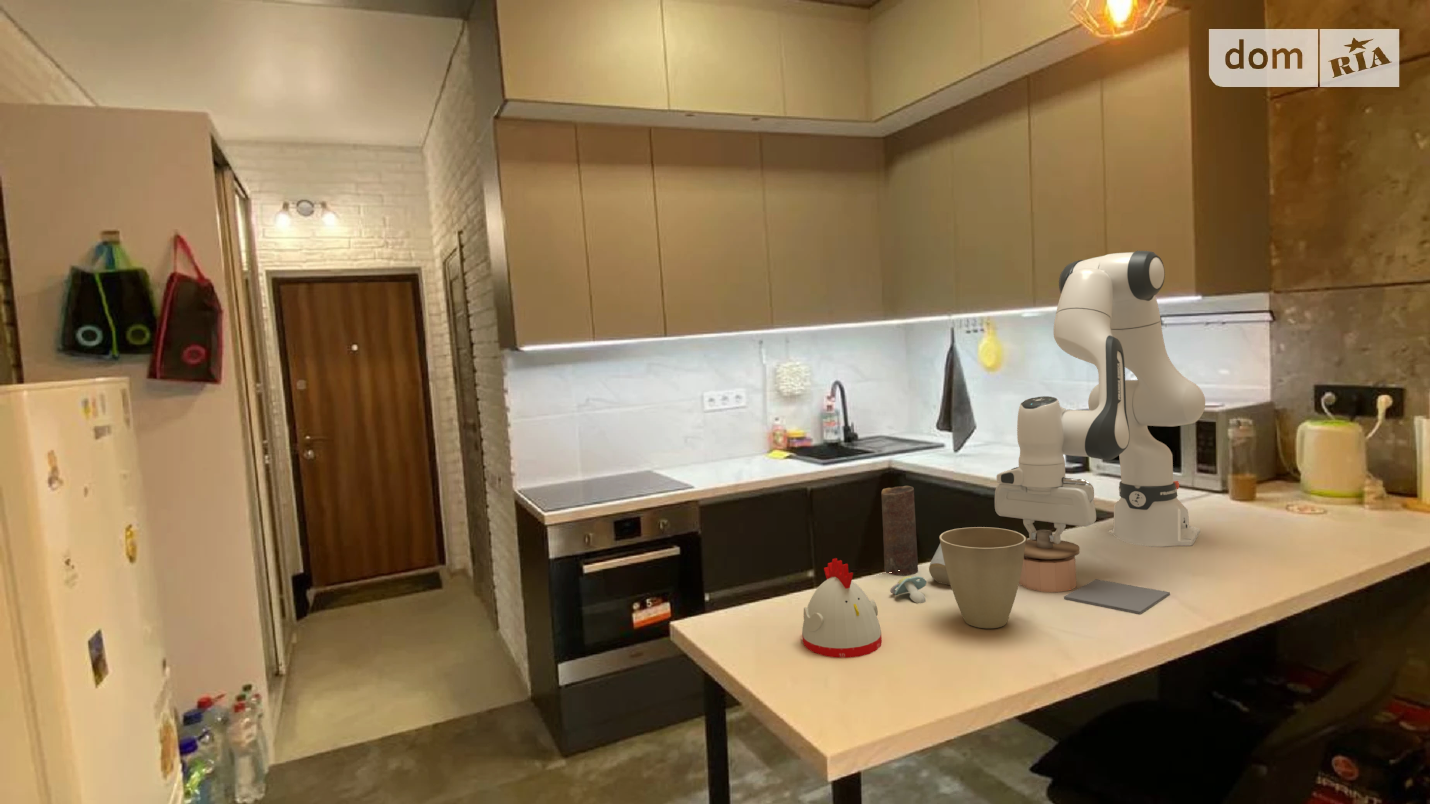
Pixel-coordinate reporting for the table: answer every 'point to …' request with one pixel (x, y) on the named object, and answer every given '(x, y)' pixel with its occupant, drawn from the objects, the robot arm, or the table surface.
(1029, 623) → the table surface
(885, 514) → the brown textured cylinder
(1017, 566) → the plant pot
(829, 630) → the kitchen timer
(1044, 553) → the lid
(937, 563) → the ceramic mug
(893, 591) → the pacifier
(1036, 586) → the bowl
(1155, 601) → the mat
